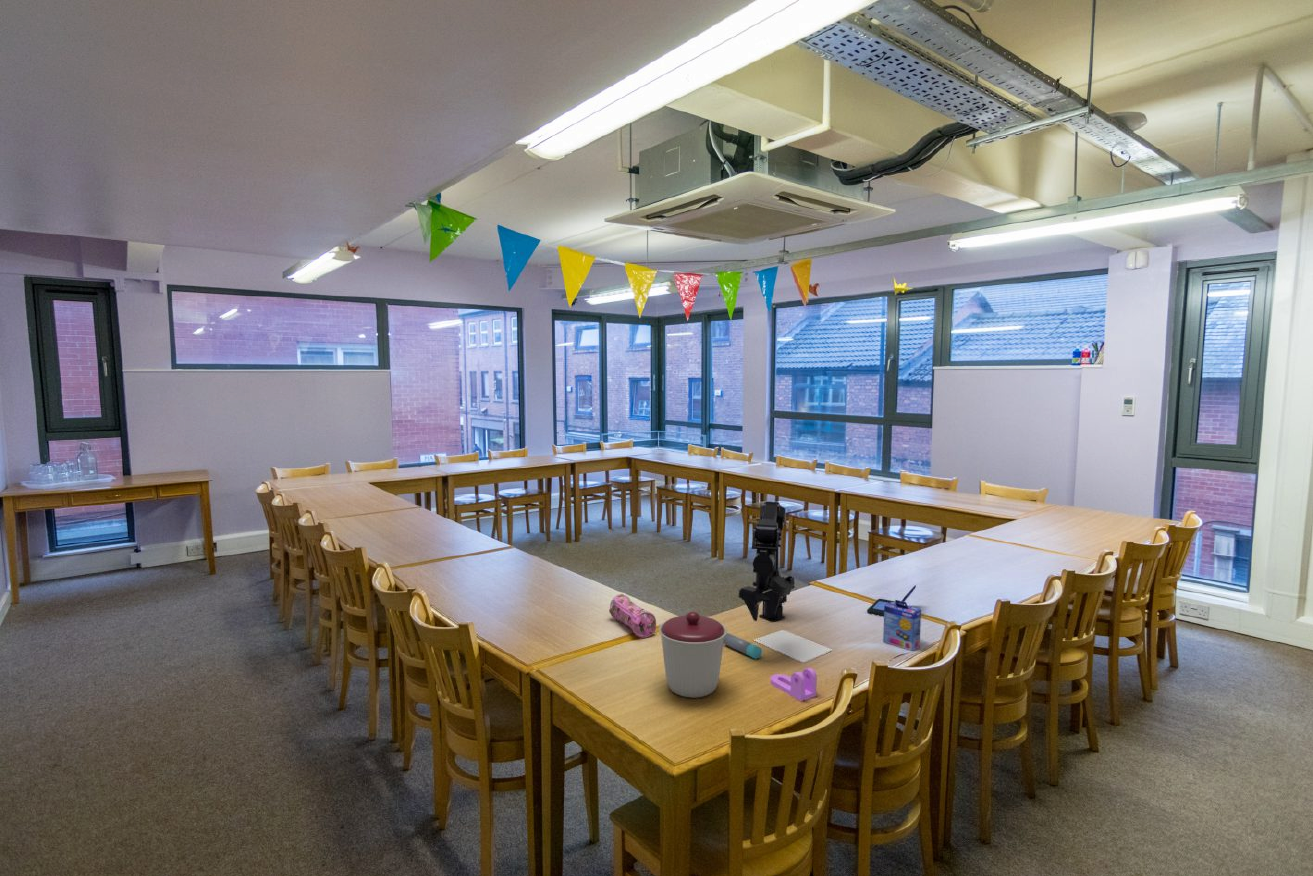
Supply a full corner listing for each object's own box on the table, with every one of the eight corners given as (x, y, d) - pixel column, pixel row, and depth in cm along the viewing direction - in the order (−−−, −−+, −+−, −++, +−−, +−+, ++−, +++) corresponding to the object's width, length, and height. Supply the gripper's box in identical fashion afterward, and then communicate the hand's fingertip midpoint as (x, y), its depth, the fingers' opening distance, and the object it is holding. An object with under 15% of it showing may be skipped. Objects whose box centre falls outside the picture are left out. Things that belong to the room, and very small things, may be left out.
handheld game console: (878, 601, 239) (879, 577, 238) (916, 609, 231) (917, 584, 230) (865, 614, 226) (866, 588, 225) (905, 622, 218) (906, 596, 217)
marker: (720, 645, 199) (718, 635, 198) (728, 639, 201) (726, 629, 200) (754, 661, 188) (752, 651, 187) (763, 655, 190) (760, 644, 189)
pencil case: (606, 620, 219) (606, 595, 218) (630, 615, 223) (630, 591, 223) (634, 642, 200) (634, 615, 199) (659, 637, 205) (660, 610, 204)
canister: (676, 711, 158) (676, 629, 156) (647, 680, 175) (648, 605, 173) (738, 697, 165) (740, 618, 163) (706, 668, 182) (707, 597, 180)
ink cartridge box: (881, 642, 201) (883, 597, 199) (889, 637, 205) (891, 593, 203) (912, 652, 194) (914, 605, 192) (920, 646, 198) (922, 601, 196)
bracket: (816, 696, 166) (816, 671, 166) (801, 702, 163) (801, 676, 163) (781, 677, 177) (781, 653, 176) (766, 682, 174) (766, 657, 173)
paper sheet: (753, 641, 201) (753, 640, 201) (782, 630, 210) (782, 629, 210) (803, 663, 186) (803, 662, 186) (832, 650, 194) (833, 649, 194)
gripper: (769, 577, 177) (768, 632, 178) (806, 565, 190) (805, 617, 191) (738, 569, 185) (736, 621, 186) (775, 558, 198) (774, 608, 199)
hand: (764, 617), depth 191 cm, fingers open, 9 cm apart
